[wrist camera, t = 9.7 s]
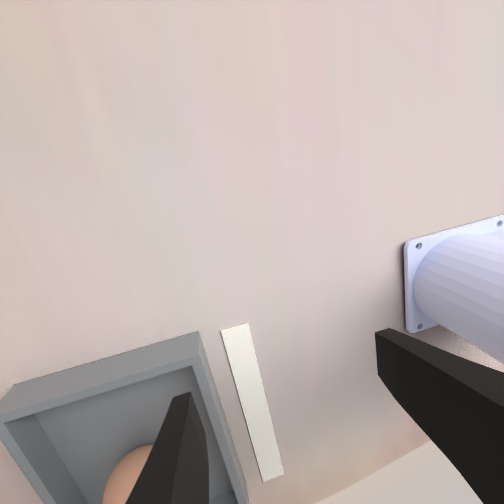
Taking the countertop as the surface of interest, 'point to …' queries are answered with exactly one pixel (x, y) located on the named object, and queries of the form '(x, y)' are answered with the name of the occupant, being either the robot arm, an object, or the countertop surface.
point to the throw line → (253, 399)
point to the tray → (114, 421)
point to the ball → (125, 476)
